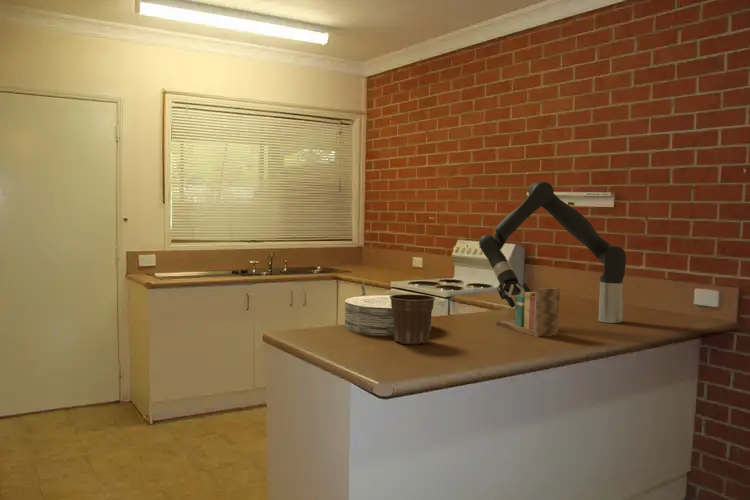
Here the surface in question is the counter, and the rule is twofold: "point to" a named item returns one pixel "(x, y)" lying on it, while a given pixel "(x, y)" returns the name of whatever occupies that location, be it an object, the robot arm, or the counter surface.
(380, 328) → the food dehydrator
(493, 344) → the counter surface
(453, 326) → the counter surface
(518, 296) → the teal book
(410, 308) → the plant pot
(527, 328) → the book rack
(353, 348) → the counter surface
